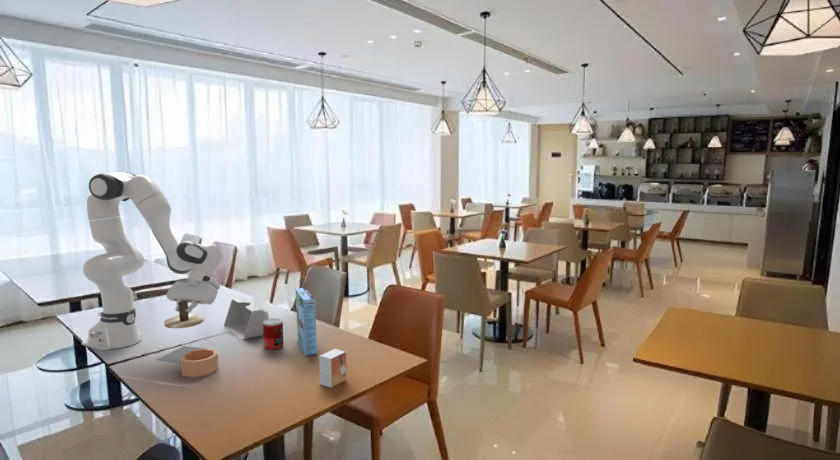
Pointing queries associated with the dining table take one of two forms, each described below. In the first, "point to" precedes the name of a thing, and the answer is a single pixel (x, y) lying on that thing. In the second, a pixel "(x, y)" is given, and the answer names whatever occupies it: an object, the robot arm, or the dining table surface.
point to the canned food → (273, 334)
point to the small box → (332, 368)
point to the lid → (183, 318)
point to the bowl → (199, 362)
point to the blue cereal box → (306, 321)
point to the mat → (176, 354)
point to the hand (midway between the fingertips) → (182, 311)
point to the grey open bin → (245, 319)
